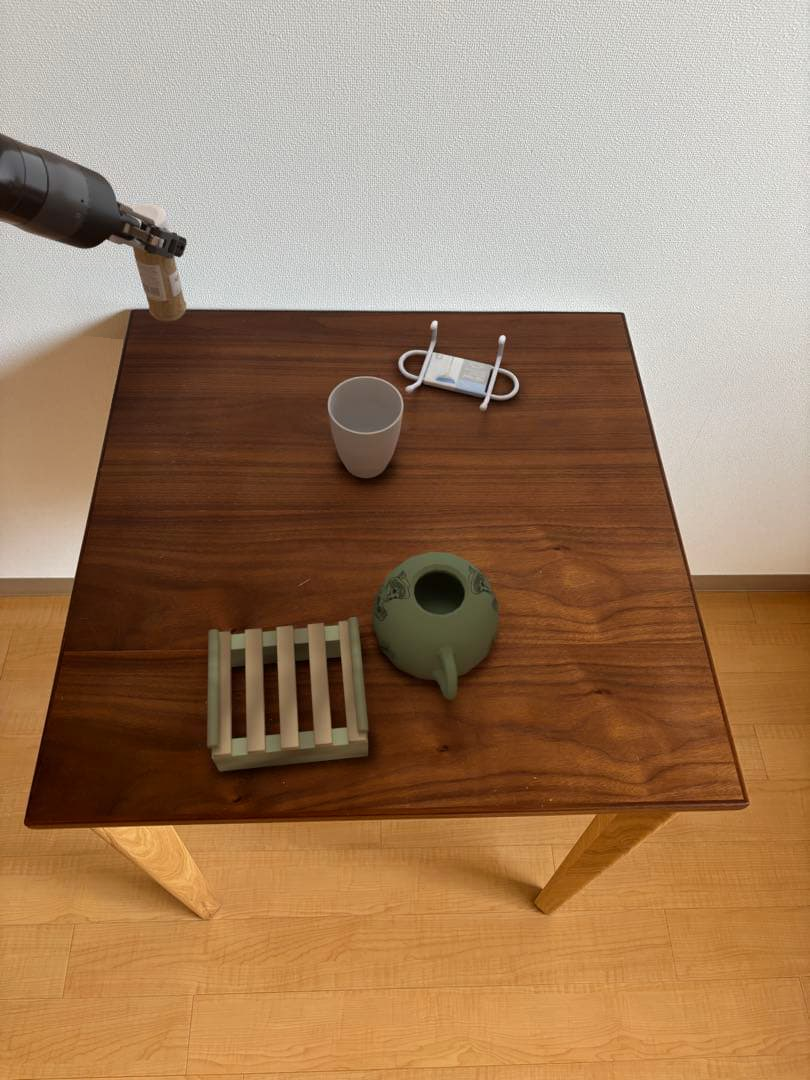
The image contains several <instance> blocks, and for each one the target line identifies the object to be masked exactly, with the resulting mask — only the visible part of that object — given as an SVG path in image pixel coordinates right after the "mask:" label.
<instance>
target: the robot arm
mask: <svg viewBox="0 0 810 1080" xmlns="http://www.w3.org/2000/svg"><path fill="white" fill-rule="evenodd" d="M131 207H132V206H129V205H127V204H125V203H122V202H120V201H118V200H117V196H116V193H115V190H114V188H113V186H112V185H111V184H110V182H109V181H108V179H107V178H106V177H104V176H103V175H102V174H101V173H99V172H98V171H96V170H94V169H91V168H88V167H86V166H84V165H82V164H79V163H77V162H75V161H73V160H70V159H69V158H66V157H64V156H62V155H60V154H57V153H54V152H52V151H50V150H47V149H44V148H41V147H37V146H33V145H29V144H26V143H24V142H22V141H20V140H18V139H15V138H13V137H12V136H8V135H6V134H4V133H2V132H0V222H1V223H5V224H9V225H11V226H13V227H15V228H17V229H19V230H21V231H24V232H26V233H28V234H31V235H35V236H38V237H41V238H44V239H48V240H51V241H54V242H57V243H61V244H63V245H66V246H71V247H73V248H77V249H81V250H90V249H94V248H96V247H98V246H100V245H102V244H103V243H104V242H105V241H108V242H110V243H114V244H117V245H121V246H122V245H126V246H129V247H131V248H133V247H134V248H136V249H139V250H142V251H145V250H146V251H147V252H148V253H150V254H152V253H153V254H157V255H160V256H164V257H166V258H172V259H173V256H174V257H175V258H176V257H177V258H182V256H183V255H184V253H185V250H186V247H187V242H188V241H187V238H185V237H183V236H181V235H178V233H176V232H174V231H173V232H171V231H170V230H169V231H168V229H166V228H164V227H163V228H161V227H158V226H156V225H155V221H154V220H153V219H151V218H149V217H147V216H145V215H142V214H140V213H137V212H135V211H133V209H132V208H131ZM130 215H131V216H130ZM132 216H133V217H132ZM134 217H135V218H134ZM136 218H138V219H140V220H141V226H140V223H139V221H138V220H137V219H136ZM139 227H140V228H139ZM135 238H136V239H135ZM133 239H135V240H133ZM132 240H133V241H132Z"/></svg>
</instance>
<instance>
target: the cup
mask: <svg viewBox="0 0 810 1080" xmlns="http://www.w3.org/2000/svg"><path fill="white" fill-rule="evenodd" d="M327 410H328V418H329V424H330V430H331V436H332V439H333V442H334V445H335V447H336V448H335V449H336V451H337V454H338V456H339V459H340V460H341V462H342V463H343V466H344V467H345V468H346V471H348V472H349V473H350V474H352V475H353V476H355V477H357V478H360V479H371V478H375V477H377V476H379V475H381V474H382V473H383V472H384V471H385V469H386V468H387V466H388V464H389V463H390V461H391V460H392V458H393V456H394V453H395V450H396V448H397V447H396V446H397V443H398V440H399V437H400V432H401V427H402V419H403V414H404V413H403V412H404V400H403V396H402V394H401V393H400V391H399V390H398V389H397V388H396V387H395V386H394V385H393V384H392V383H390V382H389V381H387V380H386V379H385V380H384V379H382V378H379V377H375V376H368V375H367V376H365V375H364V376H363V375H362V376H356V377H352V378H351V377H350V378H349V379H345V380H344V381H342V382H341V383H339V384H338V385H337V386H336V387H334V389H333V390H332V391H331V393H330V394H329V397H328V399H327Z"/></svg>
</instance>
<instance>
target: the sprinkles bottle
mask: <svg viewBox="0 0 810 1080" xmlns="http://www.w3.org/2000/svg"><path fill="white" fill-rule="evenodd" d="M130 207H131V208H132V209H133V211H135V212H137V213H140V214H142V215H145V216H147V217H149V218H151V219H153V220H154V221H155V225H156V226H158V227H161V228H163V227H164V228H166V229H168V231H170V224H169V220H168V216H167V213H166V211H165V209H163V207H161V206H160V205H158V204H155V203H150V202H148V203H147V202H145V203H144V202H143V203H138V204H135V205H133V206H130ZM130 216H131V215H130ZM132 217H133V216H132ZM134 218H135V217H134ZM136 219H137V220H138V221H139V223H140V226H141V220H140V219H138V218H136ZM139 228H140V227H139ZM135 239H136V238H135ZM135 239H133V240H135ZM133 240H132V241H133ZM132 250H133V254H134V256H133V257H134V259H135V263H136V266H137V270H138V271H137V272H138V274H139V278H140V281H141V284H142V288H143V291H144V294H145V297H146V300H147V301H146V302H147V304H148V311H149V315H150V316H151V317H152V318H153V319H155V320H156V321H160V322H168V323H169V322H175V321H177V320H179V319H181V318H182V316H183V315H185V313H186V312H187V302H186V301H185V297H184V293H183V289H182V282H181V279H180V275H179V270H178V266H177V261H176V256H173V259H172V258H166V257H164V256H160V255H157V254H153V253H152V254H150V253H148V252H147V251H146V250H145V251H142V250H139V249H136V248H134V247H132Z"/></svg>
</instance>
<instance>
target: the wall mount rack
mask: <svg viewBox="0 0 810 1080" xmlns="http://www.w3.org/2000/svg"><path fill="white" fill-rule="evenodd" d="M438 324H439V323H438V320H433V321H431V324H430V325H429V328H430V331H432V335H431V341H430V343H429V347H428V350H422V349H414V350H412V349H411V350H409V351H406V352H405V353H403V354H402V355H401V356H400V357H399V359H398V363H397V364H398V369H399V372H400V373H401V375H403V376H404V377H406V378H407V379H410V380H412V381H415V382H414V383H413V384H411V385H407V386H406V387H405V388H404V392H405V393H407V394H411V393H412V392H413V391H414V390H415V389H417V388H418V387H420V386H421V385H422V383H423V385H426V386H431V387H435V388H438V389H439V388H440V389H442V390H447V391H452V392H456V393H460V394H463V395H468V396H473V397H477V398H481V399H483V398H484V400H483V402H482V403H481V404H480V405H479V410H480V411H481V412H485V411H486V410H487V408H488V404H489V402H490V399H491V400H496V401H507V400H509V399H512V398H514V397H515V395H517V394H518V392H519V389H520V382H519V380H518V378H517V377H516V376H515V374H513V373H512V372H511V371H510V370H508V369H507V370H506V369H504V368H500V364H501V362H502V357H503V353H504V347H505V342H506V340H507V338H506V336H505V335H500V336H499V338H498V341H497V342H498V343H497V344H498V345H499V346H498V352H497V356H496V360H495V364H494V366H493V365H492V364H487V363H484V362H479V361H474V360H470V359H466V358H462V357H457V356H453V355H448V354H444V353H439V352H436V351H435V352H434V349H435V346H436V342H437V336H438ZM416 355H419V356H425V359H424V361H423V363H422V366H421V370H420V372H419V375H418V376H417V375H414V374H411V373H409V372H407V370H406V369H405V367H404V362H405V360H406V359H407V358H409V357H410V356H416ZM491 372H492V374H491ZM498 373H500V374H502V375H505V376H508V377H509V378H510V379H511V380H512V381H513V384H514V388H513V389H512V391H511V392H510V393H508V394H505V395H497V394H493V393H492V392H493V389H494V385H495V383H496V379H497V375H498ZM490 375H491V377H490ZM489 378H490V380H489ZM488 383H489V384H488ZM487 385H488V387H487ZM486 389H487V391H486Z"/></svg>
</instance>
